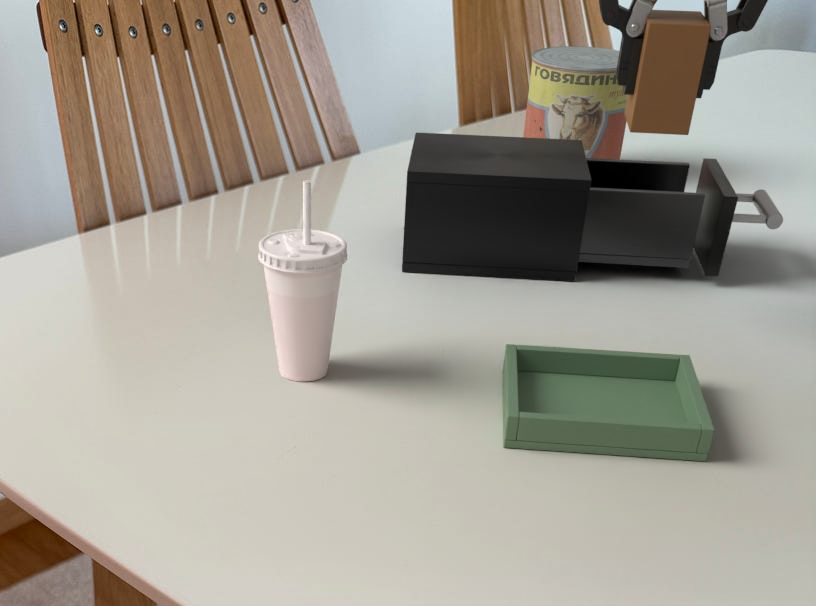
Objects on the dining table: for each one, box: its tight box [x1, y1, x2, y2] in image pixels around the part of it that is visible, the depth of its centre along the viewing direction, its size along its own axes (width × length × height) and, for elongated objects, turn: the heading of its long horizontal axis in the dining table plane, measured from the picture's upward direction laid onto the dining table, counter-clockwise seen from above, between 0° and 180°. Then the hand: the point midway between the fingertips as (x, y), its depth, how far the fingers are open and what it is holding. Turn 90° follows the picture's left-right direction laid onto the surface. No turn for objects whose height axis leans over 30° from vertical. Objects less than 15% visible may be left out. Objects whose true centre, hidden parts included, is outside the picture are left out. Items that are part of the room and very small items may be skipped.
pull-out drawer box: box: [578, 157, 784, 278], centre depth 96 cm, size 20×12×7 cm, turn 83°
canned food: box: [523, 45, 627, 160], centre depth 116 cm, size 11×11×12 cm
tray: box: [502, 343, 715, 462], centre depth 74 cm, size 14×12×2 cm
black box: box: [401, 132, 591, 282], centre depth 97 cm, size 16×13×9 cm
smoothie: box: [257, 179, 348, 382], centre depth 76 cm, size 6×6×14 cm
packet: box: [624, 9, 711, 136], centre depth 76 cm, size 4×6×7 cm
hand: (661, 93), depth 77 cm, fingers closed on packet, 4 cm apart
